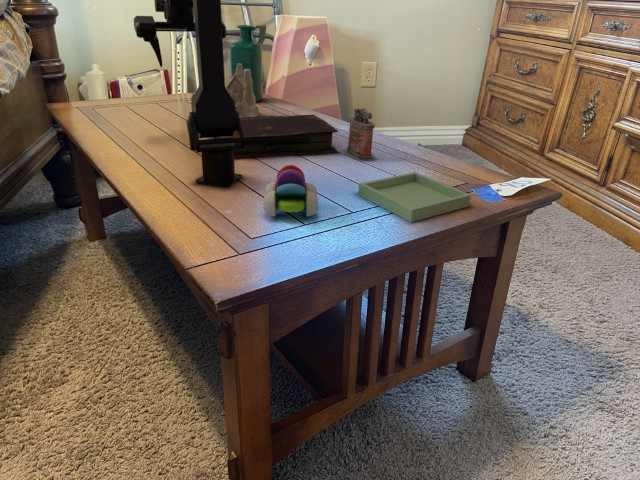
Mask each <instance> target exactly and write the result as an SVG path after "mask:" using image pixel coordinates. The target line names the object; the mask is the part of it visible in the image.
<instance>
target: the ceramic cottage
mask: <svg viewBox="0 0 640 480" xmlns="http://www.w3.org/2000/svg"><path fill="white" fill-rule="evenodd" d="M242 75H243V68H242V64H238V65H237V68H236V74H235V75H234V76H233V77H231V76H228V83H227V85H225V88H226V90H227V91H228V93H229V94H230V96H231V97H232V99H233V101H234V102H235V107H236V110H237V112H238V115H239V118H243V117H258V116H260V109H259V106H258V105H257V102H256V100H255V95H254V93H253V87H252V82H253V81H252V78H251V71H250V69H244V77H243V76H242ZM196 91H197V89H196V90H195V92H196Z"/></svg>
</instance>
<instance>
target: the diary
mask: <svg viewBox="0 0 640 480" xmlns="http://www.w3.org/2000/svg"><path fill="white" fill-rule="evenodd" d="M239 119H240V123H241V128H242V132H243V136H244V149H242V150H241V149H235V150H234V158H235V157H236V158H237V157H241V158H242V157H261V156H271V155H280V154H281V155H282V154H283V155H316V154H317V155H318V154H323V153H324V154H325V153H335V152H336V153H337V152H338V150H337V149H336V148H335V147H334V146H333V134H334V133H339V130H338V129H336V127H334V126H332V125H331V124H330V123H328V122H327V121H326V120H324V119H322V118H321V117H318V116H317V115H316V114H299V115H298V114H297V115H259V116H258V117H243V118H239ZM220 138H234V134H233V136H227V137H212V139H220Z"/></svg>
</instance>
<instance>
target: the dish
mask: <svg viewBox="0 0 640 480" xmlns="http://www.w3.org/2000/svg"><path fill="white" fill-rule="evenodd" d="M357 191H358V192H357V195H358V196H360V197H363V198H364V199H365V200H368V201H369V202H372V203H374V204H375V205H377V206H379V207H381V208H383V209H385V210H387V211H389V212H391V213H393V214H394V215H396V216H398V217H400V218H402V219H403V220H406V221H408V222H410V223H413V222H416V221H420V220H424V219H428V218H431V217H435V216H438V215H443V214H446V213H449V212H453V211H457V210H460V209H465V208H468V207H470V203H471V197H472V195H471V194H469V193H467V192H466V191H465V192H464V191H463V190H460V189H458V188H455V187H452V186H450V185H449V184H448V185H447V184H445V183H443V182H441V181H438V180H436V179H434V178H431V177H428V176H427V175H424V174H421V173H419V172H417V171H413V172H408V173H403V174H398V175H393V176H388V177H384V178H379V179H374V180H369V181H364V182H360V183H358V190H357Z"/></svg>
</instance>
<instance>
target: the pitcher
mask: <svg viewBox="0 0 640 480" xmlns="http://www.w3.org/2000/svg"><path fill="white" fill-rule="evenodd" d="M236 28H237V29H239V39H238V40H237V41H234V42H232V43H231V44H230V46H229V58H230V59H229V61H230V62H229V63H230V77H233V76H234V75H235V74H236V68H237V65H238V64H242V68H243V75H242V76H243V77H244V69H250V71H251V78H252V81H253V82H252V87H253V93H254V95H255V100H256V103H258V102H260V101H261V100H263V98H264V94H263V93H264V79H263V78H264V77H263V74H264V73H263V70H264V69H263V68H264V66H263V65H264V64H263V44H264V43H265V39H266V35H267V34H266V33H267V26H266V24H260V25H256V26H254V25H251V24H238V25H236ZM254 31H255V32H256V31H259V32H258V39H257V41H255V40H254V39H253V32H254Z"/></svg>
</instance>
